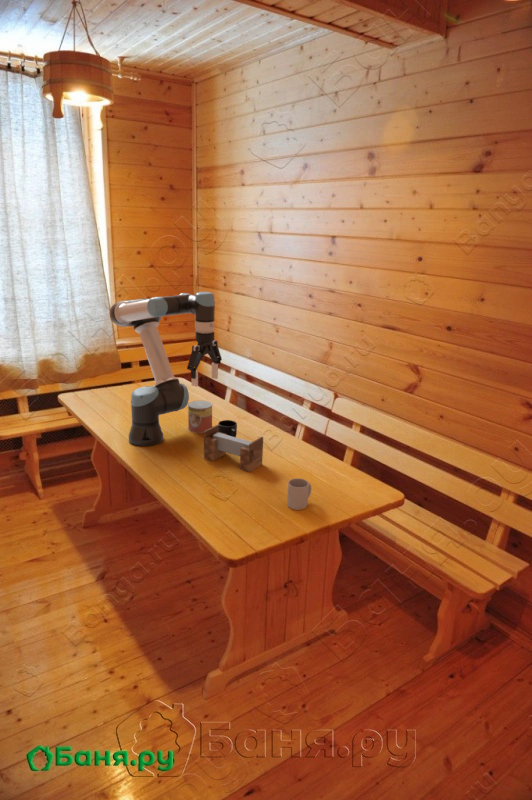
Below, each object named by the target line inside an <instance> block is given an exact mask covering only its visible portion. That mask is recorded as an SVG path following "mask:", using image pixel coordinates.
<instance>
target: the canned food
mask: <svg viewBox="0 0 532 800" xmlns="http://www.w3.org/2000/svg"><path fill="white" fill-rule="evenodd" d="M187 406H188V407H187V409H188V414H187V415H188V416H187V417H188V418H187V423H188V426H187V427H188V428H187V429H188V431H190V432H192V433H195V434H204V431H206V430H208V429H210V428H212V427H213V402H210V401H208V400H194V401H190V402H188V404H187Z"/></svg>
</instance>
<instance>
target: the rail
mask: <svg viewBox="0 0 532 800" xmlns="http://www.w3.org/2000/svg"><path fill="white" fill-rule="evenodd" d="M213 438H214V439H217V450H220V451H223V452H226V454H227V453H228V454H231V455H232V456H233V455H234V456H237V457H240V448H242V447H246V448H249V444H250V443H252V441H249V440H247V439H244V438H243V439H242V438H239V437H237V436H236V437H232V436H229V435H225V434H221V433H216V434H214V435H213Z"/></svg>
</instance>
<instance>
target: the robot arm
mask: <svg viewBox="0 0 532 800" xmlns="http://www.w3.org/2000/svg"><path fill="white" fill-rule="evenodd" d="M215 305H216V301H215V294H214V292H210V291H198V292H196V293H195V294H192V293H189V292H186V293H185V292H181V293H180V294H177V295H167V296H155V297H151V298H139V299H128V300H120V301H116V302H115V303H114V304H112V305H111V306H110V309H109V318H110V320H111V321H112V322H113V324H115V325H116V326H118V327H124V328H125V327H127V328H129V327H133V330H134V332H136V333H137V334H139V337H140V340H141V343H142V346H143V348H144V351H145V354H146V358H147V361H148V364H149V366H150V370H151V373H152V376H153V378H154V381H155V383H154V385H149V386H145V385H144V386H141V387H139V388H136V389H134V390H133V391H132V393H131V394H130V396H131V397H130V407H131V427H130V430H129V433H128V442H129V444H131V445H133V446H138V447H152V446H155V445H159V444H160V443H162V442H164V432H163V431H162V427H161V425H160V416H161V415H165V414H169V413H174V412H179V411H181V410H183V409H185V408H186V407H187V406H188V404H189V400H190V394H189V390H188V386H186V385H185V384H184V383H180V380H179V378H177V377H176V376H175V375H174V372H173V370H172V367H171V364H170V360H169V357H168V354H167V353H166V352H167V351H166V349H165V347H164V343H163V340H162V338H161V335H160V331H159V329H158V327H159V326H160V321H161V319H162V317H166V316H167V317H168V316H175V315H182V314H183V315H185V314H192V315H195V324H194V325H195V328H194V329H195V331H196V332H195V341H196V342H197V344H196V345H195V344H194V345H192V347H191V353H190V356H189V359H188V363H187V366H186V369H187V370H189V371H190V379H191V382H190V383H191V386H192V387H197V388H198V387H199V371H198V368H199V365H200V363H201V361H202V358H203V357H205V355H208V356H209V358H210V360H211V361H212V362H211V379H215V380H217V379H219V377H218V375H219V364H221V362H222V355H221V352H220V350H219V346H218V340H215V332H214V331H215V313H216V312H215V309H216V308H215V307H216V306H215Z"/></svg>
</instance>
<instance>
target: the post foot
mask: <svg viewBox="0 0 532 800" xmlns="http://www.w3.org/2000/svg"><path fill="white" fill-rule="evenodd" d="M251 442H252V443H250V444H249V448H246V447H242V448H240V456H239V469H240V470H242V471H245V472H248V473H251V472H253V471H254V470H256V469H257V468H259V467H261V466H262V465H263V455H264V452H263V451H264V436H261V437H259V438H257V439H255V440H254V441H251Z"/></svg>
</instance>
